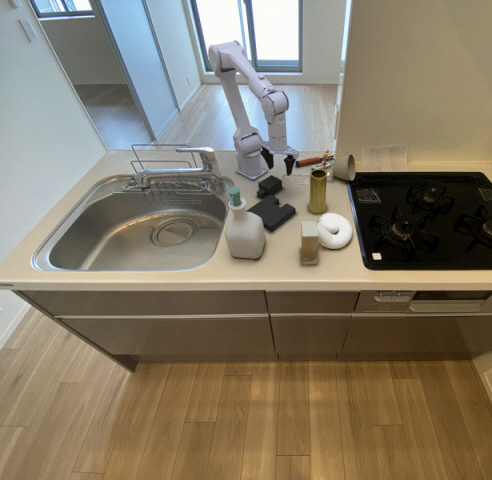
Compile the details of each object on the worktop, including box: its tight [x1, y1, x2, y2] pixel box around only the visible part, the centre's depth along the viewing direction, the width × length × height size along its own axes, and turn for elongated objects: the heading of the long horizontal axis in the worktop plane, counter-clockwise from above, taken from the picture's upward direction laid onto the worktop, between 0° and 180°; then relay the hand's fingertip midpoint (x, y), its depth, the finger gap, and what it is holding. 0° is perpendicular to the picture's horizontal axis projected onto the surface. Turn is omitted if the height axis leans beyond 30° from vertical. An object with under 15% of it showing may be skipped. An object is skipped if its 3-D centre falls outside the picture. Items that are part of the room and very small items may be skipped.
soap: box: [310, 161, 333, 170], centre depth 117 cm, size 10×4×1 cm, turn 129°
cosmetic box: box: [300, 219, 319, 265], centre depth 79 cm, size 6×4×12 cm
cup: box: [331, 153, 356, 182], centre depth 109 cm, size 10×10×7 cm
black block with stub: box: [256, 174, 283, 200], centre depth 104 cm, size 6×10×4 cm, turn 140°
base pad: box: [246, 194, 297, 233], centre depth 96 cm, size 12×12×2 cm
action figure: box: [321, 149, 331, 177], centre depth 111 cm, size 12×3×9 cm, turn 169°
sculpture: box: [317, 212, 354, 250], centre depth 87 cm, size 12×15×8 cm
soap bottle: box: [224, 186, 267, 260], centre depth 77 cm, size 10×10×23 cm
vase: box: [308, 169, 328, 214], centre depth 94 cm, size 6×6×14 cm
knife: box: [294, 154, 335, 168], centre depth 120 cm, size 26×3×5 cm
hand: (280, 171), depth 98 cm, fingers open, 7 cm apart
